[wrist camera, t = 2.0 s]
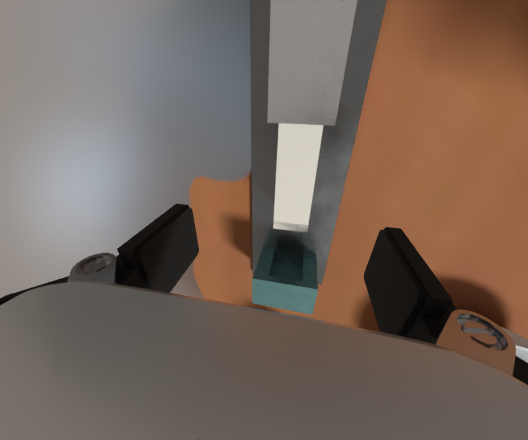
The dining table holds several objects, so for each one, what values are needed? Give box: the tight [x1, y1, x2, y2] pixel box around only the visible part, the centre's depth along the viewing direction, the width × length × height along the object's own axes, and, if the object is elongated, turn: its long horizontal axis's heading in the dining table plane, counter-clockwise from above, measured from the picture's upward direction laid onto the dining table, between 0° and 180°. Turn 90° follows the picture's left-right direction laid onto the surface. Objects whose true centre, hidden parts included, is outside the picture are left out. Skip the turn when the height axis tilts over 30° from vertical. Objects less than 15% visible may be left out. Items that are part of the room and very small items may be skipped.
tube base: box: [250, 0, 386, 314], centre depth 23 cm, size 39×12×7 cm, turn 179°
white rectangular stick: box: [273, 123, 323, 232], centre depth 20 cm, size 24×4×5 cm, turn 179°
